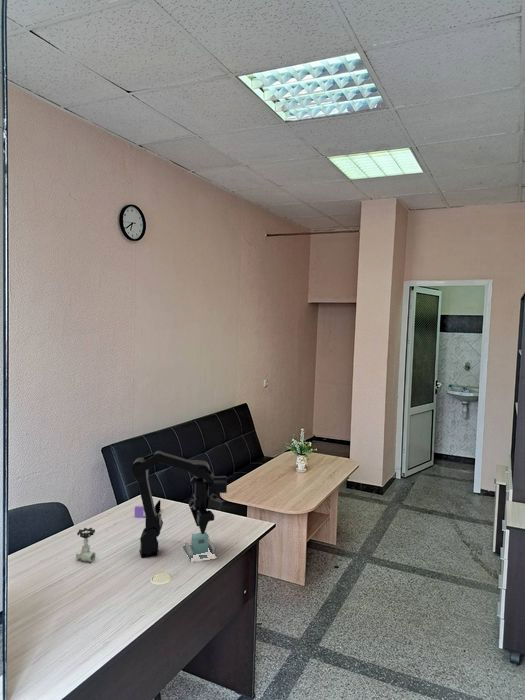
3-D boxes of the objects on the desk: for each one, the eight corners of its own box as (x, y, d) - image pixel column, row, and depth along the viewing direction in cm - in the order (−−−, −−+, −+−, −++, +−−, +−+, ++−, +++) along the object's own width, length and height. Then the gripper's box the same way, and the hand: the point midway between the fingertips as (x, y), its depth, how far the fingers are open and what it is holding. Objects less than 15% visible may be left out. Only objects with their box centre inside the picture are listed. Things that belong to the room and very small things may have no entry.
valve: (87, 566, 182) (87, 535, 181) (73, 563, 184) (73, 533, 183) (98, 558, 188) (98, 529, 188) (84, 555, 190) (84, 526, 190)
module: (193, 554, 192) (194, 538, 192) (191, 550, 196) (191, 533, 196) (208, 552, 194) (208, 536, 194) (205, 548, 198) (206, 532, 198)
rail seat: (190, 563, 187) (190, 555, 187) (182, 547, 200) (183, 540, 200) (217, 559, 191) (217, 551, 191) (208, 544, 204) (208, 536, 204)
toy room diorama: (157, 522, 225) (157, 508, 225) (132, 521, 225) (132, 507, 225) (163, 512, 237) (163, 498, 237) (139, 511, 237) (139, 497, 237)
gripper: (227, 498, 188) (226, 536, 189) (214, 483, 206) (213, 518, 206) (200, 501, 184) (198, 540, 185) (188, 486, 201) (187, 521, 202)
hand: (200, 529), depth 195 cm, fingers open, 7 cm apart
